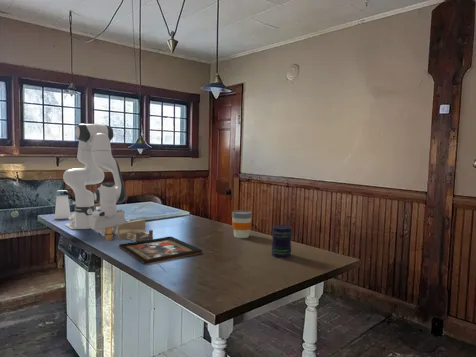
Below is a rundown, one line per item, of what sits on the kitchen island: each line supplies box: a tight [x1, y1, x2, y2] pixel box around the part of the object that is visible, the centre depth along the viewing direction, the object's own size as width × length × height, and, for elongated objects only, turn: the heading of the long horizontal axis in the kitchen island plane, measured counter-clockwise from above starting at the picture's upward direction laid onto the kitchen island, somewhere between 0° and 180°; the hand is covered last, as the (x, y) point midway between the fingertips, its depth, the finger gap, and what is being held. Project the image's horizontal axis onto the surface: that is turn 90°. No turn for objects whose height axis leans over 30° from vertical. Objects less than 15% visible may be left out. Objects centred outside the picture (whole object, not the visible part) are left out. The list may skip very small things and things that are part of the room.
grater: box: [54, 189, 72, 220], centre depth 265 cm, size 10×10×20 cm
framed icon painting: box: [118, 236, 203, 265], centre depth 188 cm, size 38×35×3 cm
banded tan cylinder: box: [104, 227, 114, 241], centre depth 207 cm, size 4×4×7 cm
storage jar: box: [271, 224, 293, 259], centre depth 182 cm, size 10×10×15 cm
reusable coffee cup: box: [231, 209, 253, 239], centre depth 219 cm, size 13×13×15 cm
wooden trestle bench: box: [117, 218, 154, 242], centre depth 210 cm, size 14×18×9 cm
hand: (108, 235), depth 207 cm, fingers open, 4 cm apart
